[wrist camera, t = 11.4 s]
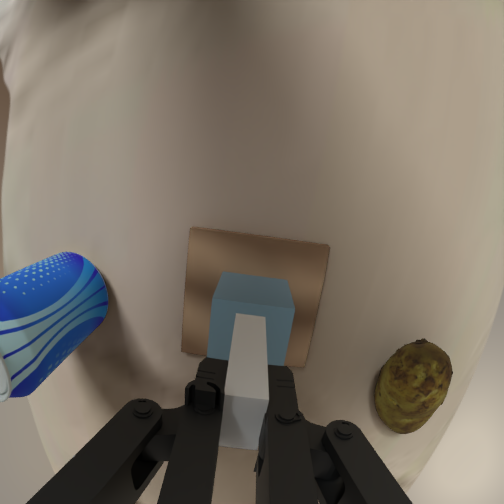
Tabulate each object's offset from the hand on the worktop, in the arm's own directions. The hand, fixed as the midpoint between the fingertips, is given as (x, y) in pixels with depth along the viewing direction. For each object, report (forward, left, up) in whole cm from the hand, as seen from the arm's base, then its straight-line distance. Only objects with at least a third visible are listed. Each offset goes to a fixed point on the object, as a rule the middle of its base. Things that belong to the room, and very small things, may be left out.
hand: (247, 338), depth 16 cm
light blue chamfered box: (+3, 0, -12) cm, 12 cm away
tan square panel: (+3, 0, -13) cm, 13 cm away
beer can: (+5, -17, -13) cm, 22 cm away
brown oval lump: (+10, +17, -13) cm, 24 cm away
